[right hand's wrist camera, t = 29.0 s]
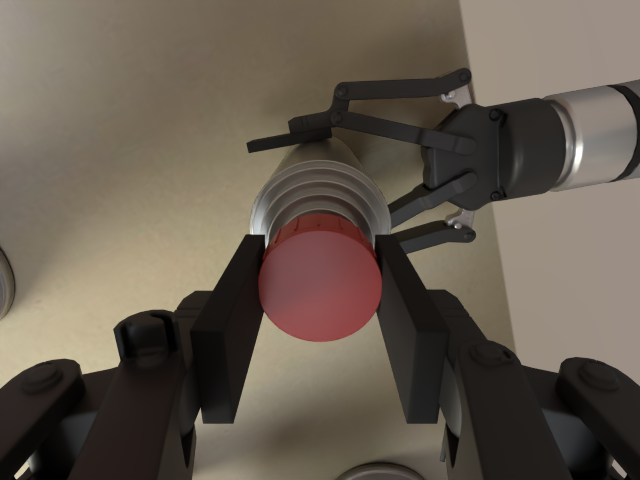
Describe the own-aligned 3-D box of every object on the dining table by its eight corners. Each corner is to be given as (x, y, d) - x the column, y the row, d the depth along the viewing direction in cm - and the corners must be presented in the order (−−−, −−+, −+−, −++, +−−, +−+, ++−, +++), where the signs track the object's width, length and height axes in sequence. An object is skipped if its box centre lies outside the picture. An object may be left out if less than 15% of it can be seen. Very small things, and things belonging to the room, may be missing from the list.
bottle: (372, 168, 36) (459, 270, 13) (323, 221, 38) (328, 388, 15) (316, 117, 34) (309, 135, 12) (268, 175, 36) (183, 287, 14)
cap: (283, 195, 14) (277, 209, 12) (394, 234, 14) (405, 253, 12) (250, 295, 15) (240, 322, 13) (351, 326, 16) (355, 356, 14)
